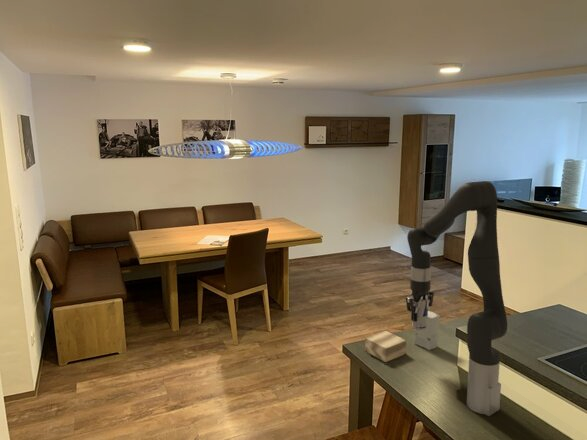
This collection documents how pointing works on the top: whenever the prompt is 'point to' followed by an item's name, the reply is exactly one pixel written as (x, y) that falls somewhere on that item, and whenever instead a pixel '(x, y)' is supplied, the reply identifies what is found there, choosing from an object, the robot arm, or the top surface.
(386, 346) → the birch block
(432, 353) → the top surface
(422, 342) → the skincare box
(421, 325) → the energy drink
